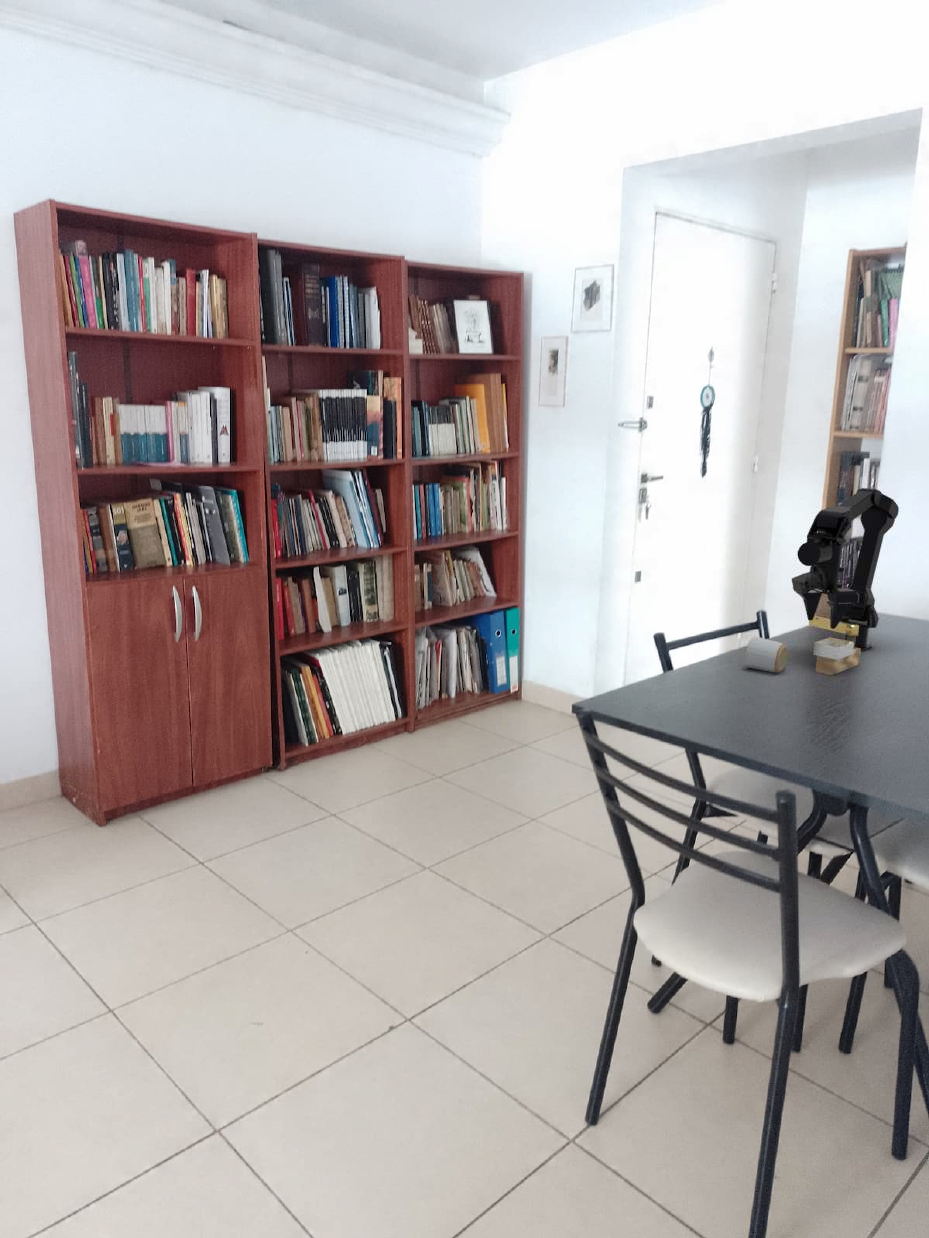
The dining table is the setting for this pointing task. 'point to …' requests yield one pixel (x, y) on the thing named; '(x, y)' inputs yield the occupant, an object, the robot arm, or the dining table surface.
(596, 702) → the dining table surface
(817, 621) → the lever
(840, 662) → the tan block
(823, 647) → the frosted white brick
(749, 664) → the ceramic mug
